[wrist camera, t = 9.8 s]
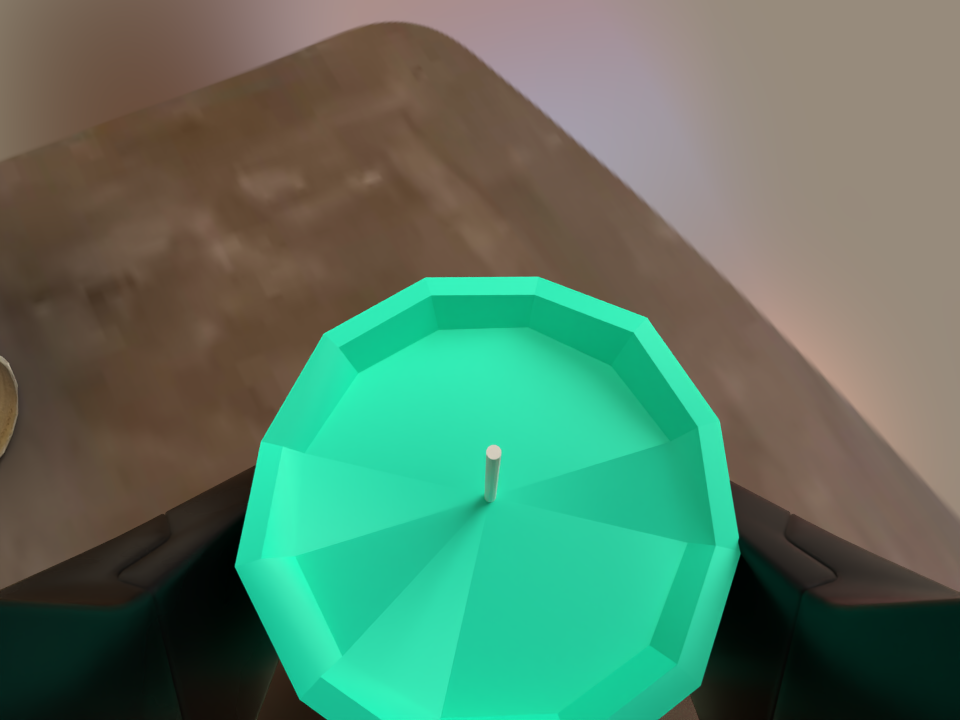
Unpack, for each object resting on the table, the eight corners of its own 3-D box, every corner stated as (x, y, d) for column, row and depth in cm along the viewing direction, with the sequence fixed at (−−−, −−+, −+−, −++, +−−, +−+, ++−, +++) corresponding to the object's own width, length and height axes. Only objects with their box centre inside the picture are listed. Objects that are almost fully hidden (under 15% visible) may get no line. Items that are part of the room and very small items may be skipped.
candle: (479, 425, 18) (479, 118, 7) (636, 566, 17) (938, 437, 6) (330, 577, 16) (38, 467, 6) (490, 753, 15) (521, 1091, 4)
